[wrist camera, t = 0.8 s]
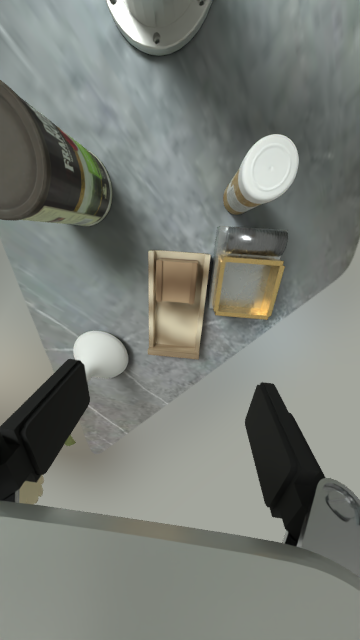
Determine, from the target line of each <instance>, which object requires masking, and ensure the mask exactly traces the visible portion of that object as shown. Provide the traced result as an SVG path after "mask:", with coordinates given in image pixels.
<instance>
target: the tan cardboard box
mask: <svg viewBox="0 0 360 640" xmlns="http://www.w3.org/2000/svg"><path fill="white" fill-rule="evenodd" d="M197 271H198V260H187V259H173V258H160V259H158V260H157V261H156V300H157V302H161V301H170V302H182V303H189V304H192V305H193V303H194V302H195V292H196V282H197Z"/></svg>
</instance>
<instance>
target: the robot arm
mask: <svg viewBox="0 0 360 640" xmlns="http://www.w3.org/2000/svg"><path fill="white" fill-rule="evenodd" d="M212 1H213V0H106V2H107V5H108V8H109V10H110V13H111V15H112V17H113V19H114V21H115V24H116V25H117V27H118V28H119V30H120V31H121V33H122V34H123V36H124V37H125V38H126V39H127V40H128V41H129V42H130V43H131V44H132V45H133V46H134V47H136V48H137V49H139V50H140V51H142V52H145V53H147V54H150V55H159V56H161V55H166V54H171V53H173V52H175V51H177V50H179V49H181V48H182V47H183V46H184V45H186V44H187V43H188V42H189V41H190V40H191V39H192V38H193V37H194V35H195V34H196V33H197V32H198V30H199V29H200V27H201V25H202V23H203V22H204V20H205V18H206V16H207V14H208V11H209V9H210V6H211V4H212ZM157 43H158V44H157ZM89 402H90V397H89V391H88V384H87V378H86V372H85V366H84V364H83V363H82V362H81V361H80V360H73V359H68V360H67V361H66V362H65V363H64V364H63V365H62V366H61V367H60V368H59V369H58V370H57V371H56V372H55V373H54V374H53V375H52V376H51V377H50V378H49V379H48V380H47V381H46V382H45V383H44V384H43V385H42V386H41V387H40V388H39V389H38V390H37V391H36V392H35V393H34V394H33V395H32V396H31V397H30V398H29V399H28V400H27V401H26V402H25V403H24V404H23V405H22V406H21V407H20V408H19V409H18V410H17V411H16V412H15V413H13V415H11V417H9V418H8V419H7V420H6V421H5V422H4V423H3V424H2V425H1V426H0V640H360V500H359V499H358V497H357V496H356V495H355V494H354V493H353V492H352V491H351V490H350V489H349V488H347V487H346V486H345V485H343V484H341V483H340V482H338V481H336V480H334V479H331V478H325V476H324V474H323V472H322V470H321V468H320V466H319V465H318V463H317V461H316V459H315V457H314V455H313V453H312V451H311V449H310V447H309V445H308V444H307V442H306V440H305V438H304V436H303V434H302V432H301V430H300V428H299V427H298V425H297V423H296V421H295V419H294V417H293V416H292V414H291V413H289V412H288V410H287V409H286V406H285V404H284V402H283V401H282V399H281V397H280V395H279V393H278V391H277V389H276V387H275V385H274V384H271V383H261V384H260V385H257V387H256V390H255V393H254V396H253V399H252V401H251V404H250V407H249V410H248V413H247V416H246V419H245V426H246V430H247V434H248V438H249V442H250V446H251V450H252V454H253V458H254V461H255V466H256V470H257V474H258V478H259V481H260V486H261V490H262V493H263V497H264V501H265V504H266V506H267V507H270V510H271V514H272V517H276V518H282V519H283V523H284V526H285V529H286V533H285V536H284V540H283V542H282V543H279V542H274V541H268V540H263V539H257V538H251V537H246V536H240V535H233V534H227V533H221V532H214V531H208V530H202V529H195V528H189V527H182V526H176V525H170V524H163V523H156V522H149V521H143V520H137V519H129V518H123V517H116V516H110V515H103V514H96V513H89V512H81V511H75V510H68V509H61V508H54V507H47V506H40V505H33V504H24V503H19V492H20V488H21V486H22V485H23V483H24V482H25V481H29V482H36V483H37V481H38V480H39V478H40V477H41V475H43V474H45V473H46V472H47V470H48V469H49V467H50V466H51V464H52V463H53V461H54V460H55V458H56V456H57V455H58V453H59V451H60V450H61V448H62V447H63V445H64V444H65V442H66V440H67V439H68V437H69V436H70V434H71V432H72V431H73V429H74V427H75V426H76V424H77V423H78V421H79V420H80V418H81V416H82V415H83V413H84V412H85V410H86V408H87V407H88V405H89Z"/></svg>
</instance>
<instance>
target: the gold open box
mask: <svg viewBox="0 0 360 640" xmlns="http://www.w3.org/2000/svg"><path fill="white" fill-rule="evenodd" d="M287 231H288V230H275V229H260V228H244V227H228V226H219V227H217V233H216V241H215V249H214V257H213V265H212V273H211V281H210V288H209V296H208V304H209V308H212V309H213V310H214V312H215V315H219V316H231V317H242V318H254V319H266V320H268V317H269V316H271V314H272V310H273V307H274V303H275V300H276V296H277V293H278V289H279V285H280V282H281V278H282V275H283V271H284V268H285V266H283V262H284V261H281V260H280V257H281V255H282V254H283V252H284V250H285V248H286V245H287V240H288V233H287Z"/></svg>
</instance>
